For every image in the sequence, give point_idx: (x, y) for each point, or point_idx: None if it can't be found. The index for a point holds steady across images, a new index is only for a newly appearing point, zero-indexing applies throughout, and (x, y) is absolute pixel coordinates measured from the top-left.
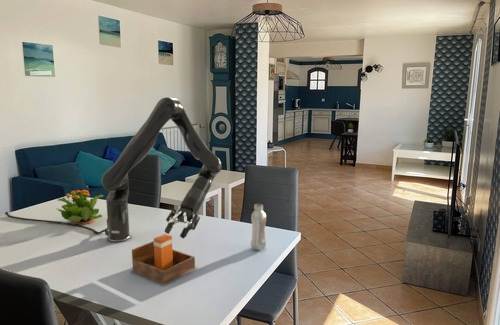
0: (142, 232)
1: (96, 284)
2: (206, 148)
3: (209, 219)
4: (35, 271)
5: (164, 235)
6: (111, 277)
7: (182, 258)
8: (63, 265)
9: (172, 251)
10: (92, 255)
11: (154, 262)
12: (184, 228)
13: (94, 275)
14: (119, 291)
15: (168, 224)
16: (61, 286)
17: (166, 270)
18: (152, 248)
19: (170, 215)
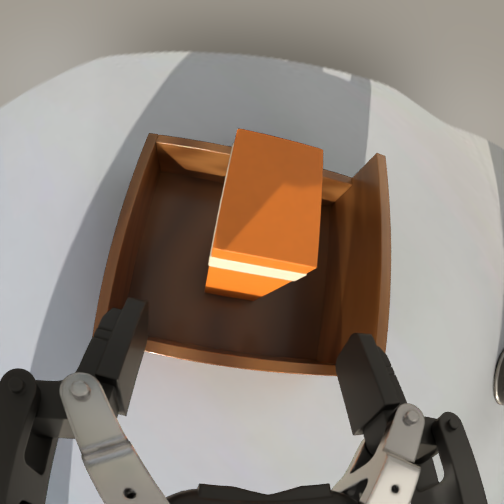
0: (484, 448)
1: (353, 113)
2: None
3: None
4: (478, 145)
5: (294, 234)
6: (358, 152)
7: (182, 344)
8: (478, 179)
9: (207, 277)
10: (488, 250)
11: (321, 300)
12: (108, 367)
13: (400, 151)
14: (268, 97)
15: (393, 390)
16: (399, 98)
17: (144, 146)
18: (359, 283)
19: (460, 472)
